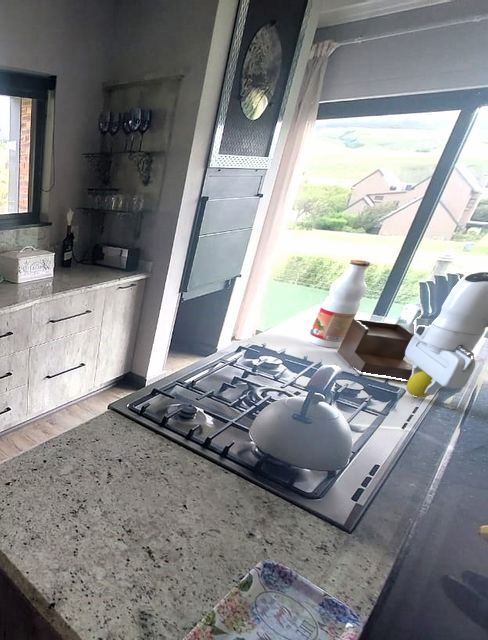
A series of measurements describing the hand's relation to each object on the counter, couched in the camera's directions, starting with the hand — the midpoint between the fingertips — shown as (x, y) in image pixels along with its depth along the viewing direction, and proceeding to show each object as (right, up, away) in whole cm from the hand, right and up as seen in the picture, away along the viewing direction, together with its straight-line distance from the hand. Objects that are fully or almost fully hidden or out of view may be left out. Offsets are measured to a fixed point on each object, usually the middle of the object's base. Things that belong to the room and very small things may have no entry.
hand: (420, 387), depth 106 cm
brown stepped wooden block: (+4, +6, +18) cm, 19 cm away
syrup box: (+27, +13, +32) cm, 44 cm away
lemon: (0, -3, +2) cm, 3 cm away
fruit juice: (+2, +14, +34) cm, 37 cm away
